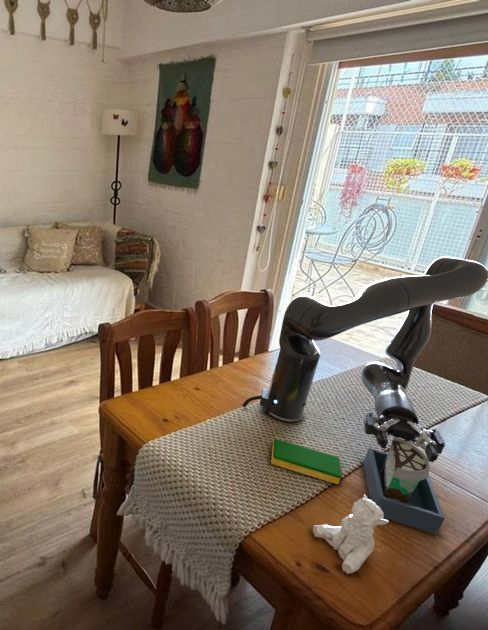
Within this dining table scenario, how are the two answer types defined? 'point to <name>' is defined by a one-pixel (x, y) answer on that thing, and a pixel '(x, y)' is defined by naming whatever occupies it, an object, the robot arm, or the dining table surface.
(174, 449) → the dining table surface
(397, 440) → the food container
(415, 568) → the dining table surface
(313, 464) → the dish sponge
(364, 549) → the seated beast figurine
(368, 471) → the blue open tray
